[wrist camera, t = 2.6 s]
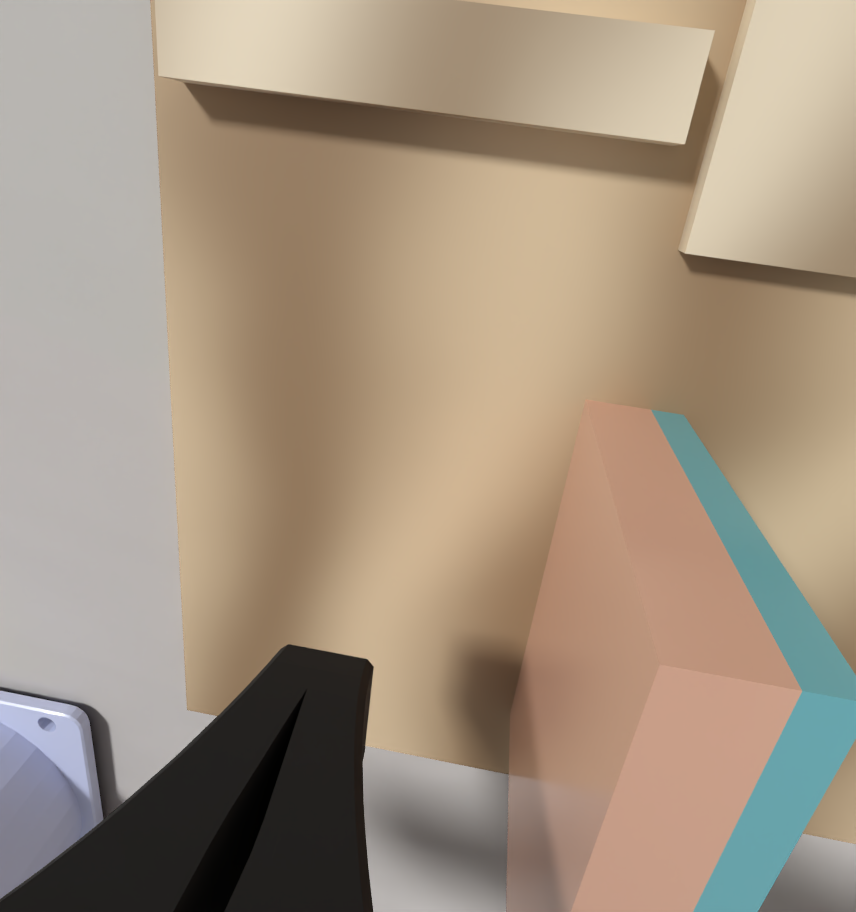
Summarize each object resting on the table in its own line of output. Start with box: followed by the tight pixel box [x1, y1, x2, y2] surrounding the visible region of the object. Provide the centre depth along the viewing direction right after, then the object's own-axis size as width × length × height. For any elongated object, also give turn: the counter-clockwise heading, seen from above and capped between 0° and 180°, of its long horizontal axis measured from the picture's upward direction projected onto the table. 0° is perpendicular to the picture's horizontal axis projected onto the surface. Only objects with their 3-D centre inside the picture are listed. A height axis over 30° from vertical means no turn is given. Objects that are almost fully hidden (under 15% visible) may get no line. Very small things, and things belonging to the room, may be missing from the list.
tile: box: [506, 399, 856, 912], centre depth 10 cm, size 2×8×7 cm, turn 173°
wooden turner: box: [155, 0, 856, 278], centre depth 9 cm, size 14×4×1 cm, turn 83°
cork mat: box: [150, 0, 856, 844], centre depth 12 cm, size 18×18×1 cm
